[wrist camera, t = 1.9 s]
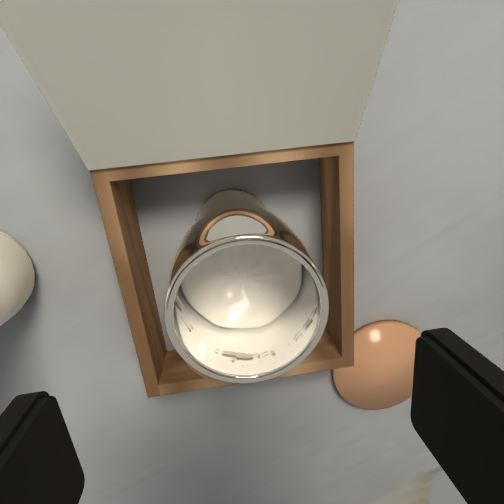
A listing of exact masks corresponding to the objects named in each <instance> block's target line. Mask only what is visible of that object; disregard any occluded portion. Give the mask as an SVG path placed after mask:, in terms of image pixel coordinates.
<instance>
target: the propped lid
mask: <svg viewBox="0 0 504 504" xmlns="http://www.w3.org/2000/svg"><path fill="white" fill-rule="evenodd" d="M398 2H399V0H0V25H1V26H2V28H3V30H4V31H5V33H6V35H7V36H8V38H9V40H10V41H11V43H12V45H13V46H14V48H15V50H16V51H17V53H18V55H19V56H20V58H21V60H22V61H23V63H24V64H25V66H26V68H27V69H28V71H29V73H30V74H31V76H32V78H33V79H34V81H35V83H36V84H37V86H38V88H39V89H40V91H41V93H42V94H43V96H44V98H45V99H46V101H47V103H48V104H49V106H50V107H51V109H52V111H53V112H54V114H55V116H56V117H57V119H58V121H59V122H60V124H61V126H62V127H63V129H64V131H65V132H66V134H67V136H68V137H69V139H70V141H71V142H72V144H73V146H74V147H75V149H76V150H77V152H78V154H79V155H80V157H81V159H82V160H83V162H84V164H85V165H86V167H87V169H88V170H97V169H106V168H115V167H124V166H134V165H143V164H152V163H161V162H170V161H179V160H188V159H197V158H206V157H215V156H224V155H233V154H242V153H251V152H261V151H270V150H279V149H288V148H297V147H306V146H315V145H324V144H333V143H342V142H351V141H355V140H356V137H357V134H358V130H359V127H360V124H361V121H362V118H363V114H364V111H365V108H366V105H367V102H368V98H369V95H370V92H371V89H372V85H373V82H374V79H375V76H376V73H377V69H378V66H379V63H380V60H381V57H382V53H383V50H384V47H385V44H386V41H387V37H388V34H389V31H390V28H391V25H392V21H393V18H394V15H395V12H396V9H397V5H398Z"/></svg>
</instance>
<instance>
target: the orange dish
mask: <svg viewBox="0 0 504 504" xmlns="http://www.w3.org/2000/svg"><path fill="white" fill-rule="evenodd" d="M420 336H421V333H420V332H419V331H418V330H417V329H416V328H414V327H413V326H411V325H409V324H407V323H404V322H401V321H396V320H381V321H376V322H373V323H369V324H367V325H365V326H362V327H361V328H359V329H357V330H356V331H354V366H351V367H345V368H338V369H332V377H333V381H334V383H335V385H336V388H337V390H338V392H339V393H340V395H341V396H342V397H343V398H344V399H345V400H346V401H347V402H349V403H350V404H352V405H354V406H356V407H359V408H363V409H370V410H376V409H384V408H389V407H392V406H395V405H397V404H399V403H401V402H403V401H405V400H407V399H408V398H410V397H411V396H412V388H413V373H414V359H415V344H416V339H417V338H419V337H420Z"/></svg>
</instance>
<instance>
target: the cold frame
mask: <svg viewBox="0 0 504 504" xmlns="http://www.w3.org/2000/svg"><path fill="white" fill-rule="evenodd" d="M313 158H319V160H320V189H321V218H322V247H323V276H324V282H325V285H326V288H327V292H328V298H329V313H328V320H327V324H326V327H325V330H324V332H323V335H322V337H321V339H320V340H319V342H318V344H317V345H316V347H315V348H314V349H313V351H312V352H311V353H310V354H309V355H308V356H307V357H306V358H305V359H304V360H303V361H302V362H301V363H300V364H298V365H297V366H296V367H294V368H293V369H291V370H290V371H288V372H286V373H284V374H282V375H280V376H277V377H275V378H279V377H286V376H292V375H299V374H305V373H312V372H319V371H325V370H332V369H338V368H345V367H351V366H354V141H351V142H342V143H333V144H324V145H315V146H306V147H297V148H288V149H279V150H270V151H261V152H251V153H242V154H233V155H224V156H215V157H206V158H197V159H188V160H179V161H170V162H161V163H152V164H143V165H134V166H124V167H115V168H106V169H97V170H90V172H91V176H92V180H93V184H94V188H95V192H96V195H97V199H98V203H99V207H100V211H101V215H102V219H103V223H104V227H105V231H106V235H107V239H108V242H109V246H110V250H111V254H112V258H113V262H114V266H115V270H116V274H117V278H118V282H119V286H120V289H121V293H122V297H123V301H124V305H125V309H126V313H127V317H128V321H129V325H130V329H131V333H132V336H133V340H134V344H135V348H136V352H137V356H138V360H139V364H140V368H141V372H142V376H143V380H144V383H145V387H146V391H147V395H148V397H154V396H160V395H167V394H174V393H180V392H187V391H193V390H200V389H207V388H213V387H220V386H226V385H233V384H239V383H231V382H225V381H217V380H210V379H206V378H204V377H201V376H199V375H198V374H196V373H195V372H194V371H192V370H191V369H190V367H189V366H188V365H187V363H186V361H185V360H184V359H183V358H182V357H181V356H180V355H179V354H178V352H177V351H176V350H173V351H167V350H166V345H165V341H164V336H163V332H162V327H161V323H160V318H159V314H158V309H157V304H156V300H155V295H154V291H153V286H152V282H151V277H150V273H149V268H148V264H147V259H146V254H145V250H144V245H143V241H142V236H141V232H140V227H139V223H138V218H137V213H136V209H135V204H134V200H133V195H132V191H131V186H130V182H129V179H136V178H145V177H153V176H162V175H171V174H180V173H189V172H198V171H207V170H216V169H225V168H233V167H242V166H251V165H260V164H269V163H278V162H287V161H296V160H305V159H313Z"/></svg>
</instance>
